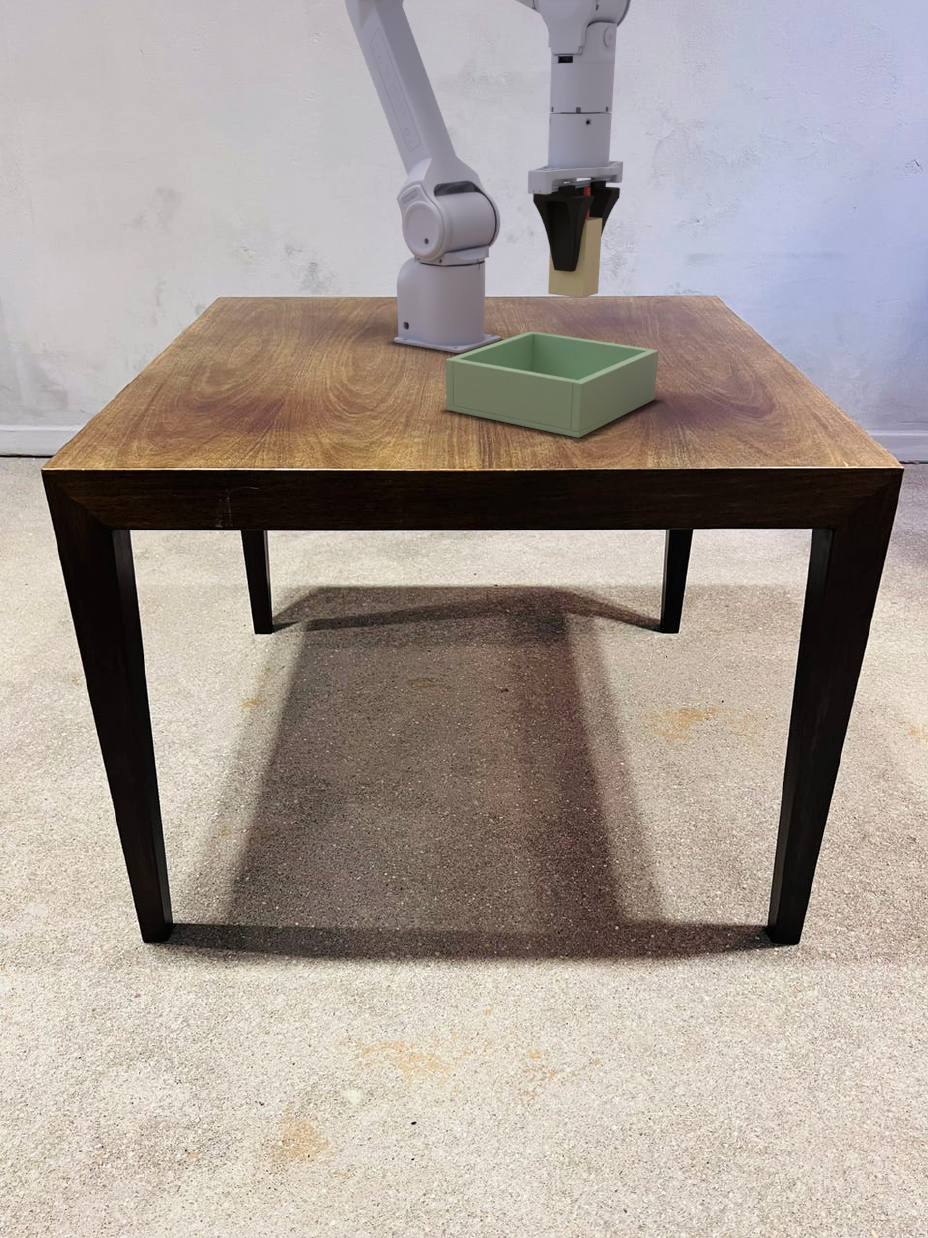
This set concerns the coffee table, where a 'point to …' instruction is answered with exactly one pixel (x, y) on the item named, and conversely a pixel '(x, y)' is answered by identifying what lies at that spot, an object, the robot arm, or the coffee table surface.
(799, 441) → the coffee table surface
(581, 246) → the juice box
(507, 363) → the bin
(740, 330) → the coffee table surface
